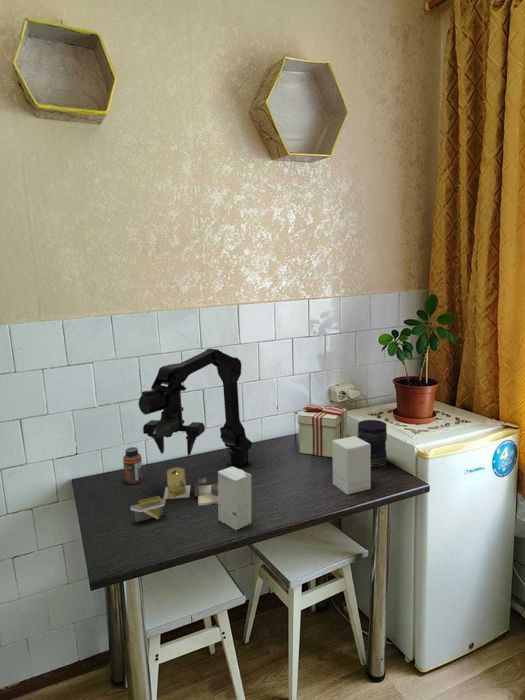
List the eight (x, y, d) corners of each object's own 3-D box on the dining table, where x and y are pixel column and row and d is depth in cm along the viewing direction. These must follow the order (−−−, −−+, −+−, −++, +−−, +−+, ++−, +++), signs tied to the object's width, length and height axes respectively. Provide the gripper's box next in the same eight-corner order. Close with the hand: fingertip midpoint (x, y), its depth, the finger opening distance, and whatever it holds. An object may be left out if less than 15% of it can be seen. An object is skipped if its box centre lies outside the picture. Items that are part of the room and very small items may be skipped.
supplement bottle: (121, 482, 168) (118, 450, 166) (133, 475, 173) (130, 444, 171) (134, 485, 165) (132, 453, 163) (146, 478, 170) (144, 447, 168)
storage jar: (364, 457, 181) (364, 418, 179) (390, 463, 176) (391, 422, 173) (353, 467, 174) (352, 426, 171) (379, 473, 168) (380, 430, 165)
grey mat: (190, 486, 163) (190, 485, 163) (189, 497, 155) (189, 496, 155) (165, 488, 162) (165, 487, 162) (163, 499, 154) (163, 498, 154)
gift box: (349, 442, 198) (349, 400, 195) (339, 459, 181) (339, 413, 178) (308, 438, 204) (307, 397, 201) (294, 454, 187) (293, 410, 184)
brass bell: (175, 484, 164) (173, 463, 163) (191, 485, 163) (189, 464, 162) (162, 498, 155) (160, 476, 153) (179, 499, 153) (177, 477, 152)
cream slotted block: (238, 484, 163) (238, 469, 162) (241, 502, 151) (240, 485, 150) (195, 488, 161) (194, 472, 160) (194, 506, 149) (193, 489, 148)
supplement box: (371, 489, 156) (371, 444, 154) (347, 495, 153) (346, 449, 150) (355, 478, 164) (355, 435, 162) (332, 483, 161) (331, 439, 158)
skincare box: (218, 521, 140) (215, 471, 138) (234, 513, 144) (232, 464, 142) (237, 531, 134) (234, 480, 132) (253, 523, 138) (251, 473, 136)
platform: (187, 522, 141) (185, 500, 140) (122, 539, 133) (120, 517, 132) (174, 504, 152) (172, 484, 151) (114, 520, 144) (112, 499, 142)
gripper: (132, 412, 149) (136, 462, 152) (189, 415, 145) (193, 466, 147) (149, 402, 160) (153, 448, 163) (204, 404, 155) (206, 452, 158)
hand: (175, 454), depth 157 cm, fingers open, 9 cm apart
